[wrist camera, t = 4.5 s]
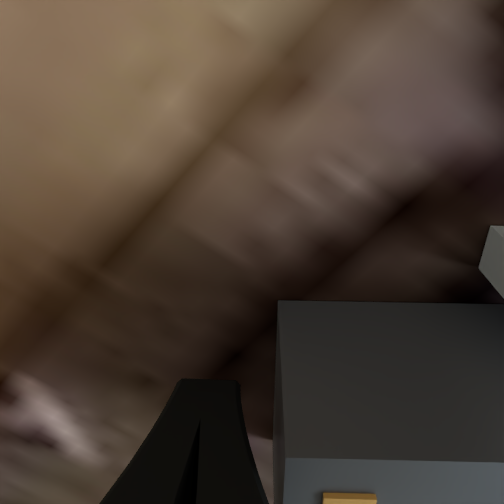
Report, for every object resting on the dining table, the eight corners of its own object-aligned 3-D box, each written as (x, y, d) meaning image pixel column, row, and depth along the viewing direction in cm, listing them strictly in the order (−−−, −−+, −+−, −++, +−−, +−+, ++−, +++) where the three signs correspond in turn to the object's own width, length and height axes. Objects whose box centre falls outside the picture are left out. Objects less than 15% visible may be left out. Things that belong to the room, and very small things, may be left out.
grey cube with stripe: (535, 447, 13) (655, 639, 9) (272, 441, 13) (276, 628, 9) (592, 305, 11) (780, 474, 7) (277, 300, 11) (286, 463, 7)
